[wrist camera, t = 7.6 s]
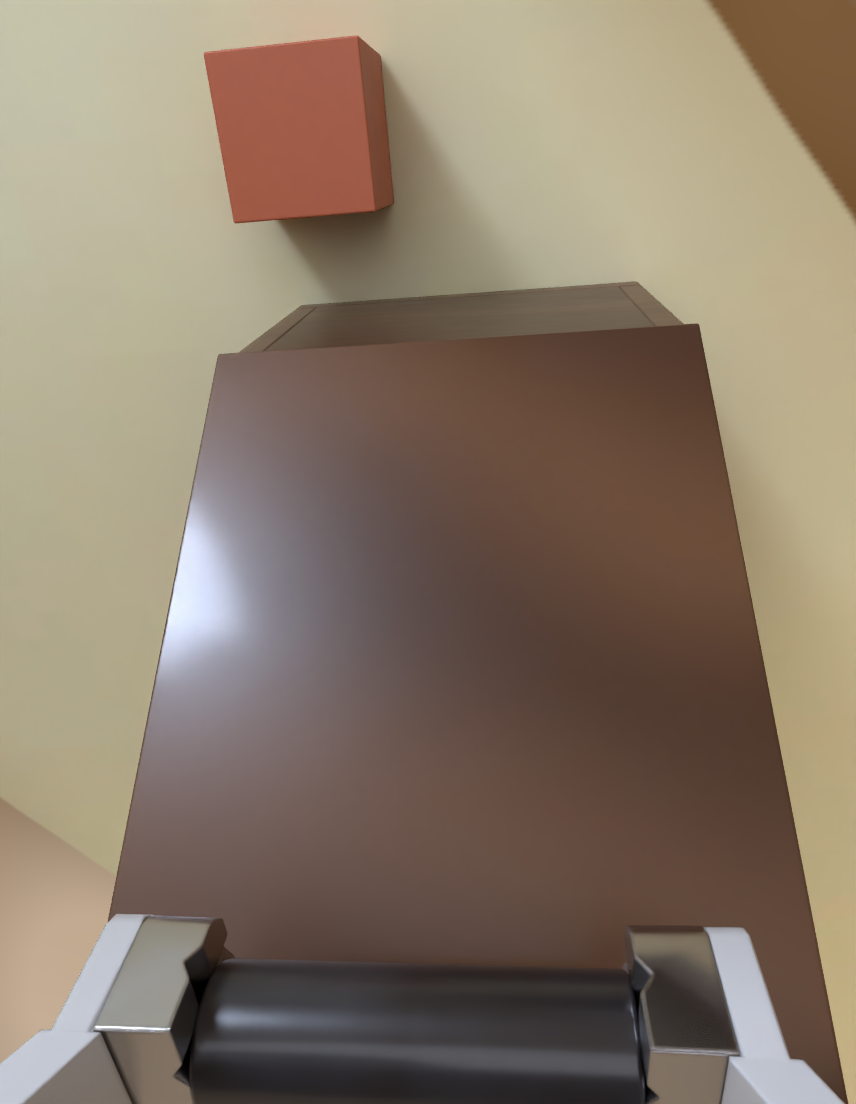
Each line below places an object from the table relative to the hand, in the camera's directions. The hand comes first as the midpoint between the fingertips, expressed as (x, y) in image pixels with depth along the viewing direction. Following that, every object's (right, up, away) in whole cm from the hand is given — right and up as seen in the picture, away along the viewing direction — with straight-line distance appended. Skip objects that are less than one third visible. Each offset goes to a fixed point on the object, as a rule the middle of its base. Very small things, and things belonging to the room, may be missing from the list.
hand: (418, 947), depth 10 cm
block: (-3, +20, +16) cm, 26 cm away
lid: (+1, +3, +6) cm, 7 cm away
